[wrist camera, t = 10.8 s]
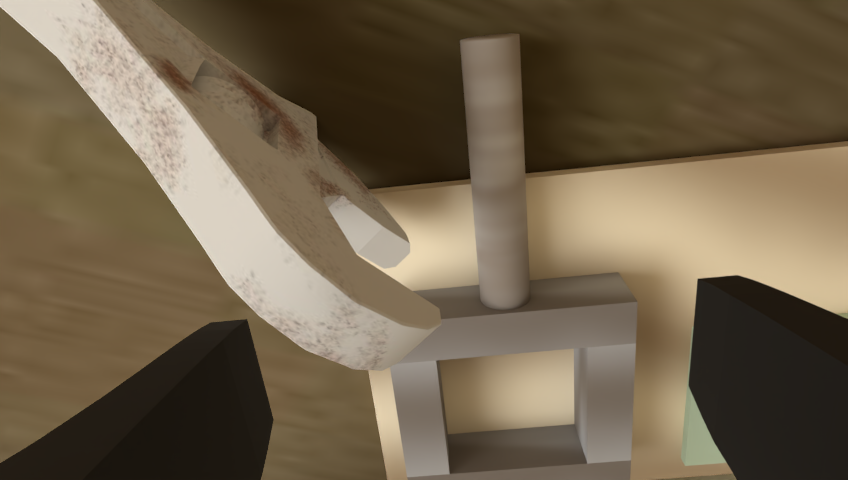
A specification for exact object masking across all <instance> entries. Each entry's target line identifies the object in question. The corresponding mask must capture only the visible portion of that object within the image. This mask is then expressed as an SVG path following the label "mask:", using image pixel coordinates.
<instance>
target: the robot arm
mask: <svg viewBox="0 0 848 480" xmlns="http://www.w3.org/2000/svg"><path fill="white" fill-rule="evenodd" d="M688 386H689V388H690V391H691V393H692V395H693V397H694V400H695V402H696V404H697V407H698V409H699V411H700V414H701V416H702V418H703V420H704V422H705V424H706V427H707V429H708V431H709V433H710V435H711V437H712V439H713V441H714V443H715V445H716V446H717V448H718V450H719V451H720V453H721V455H722V456H723V458H724V459H725V461H726V463H727V464H728V466H729V467H730V469H731V471H732V472H733V474H734V476H735V477H736V479H737V480H848V319H847V318H845V317H842V316H840V315H838V314H835V313H833V312H830V311H828V310H826V309H823V308H821V307H819V306H816V305H814V304H812V303H809V302H807V301H805V300H802V299H800V298H797V297H795V296H793V295H790V294H788V293H786V292H783V291H781V290H778V289H776V288H773V287H771V286H768V285H766V284H763V283H760V282H758V281H755V280H752V279H749V278H746V277H742V276H739V275H733V276H722V277H711V278H700V279H698V280H697V292H696V303H695V315H694V326H693V338H692V349H691V361H690V372H689V384H688ZM272 424H273V416H272V412H271V409H270V405H269V401H268V397H267V393H266V390H265V386H264V382H263V378H262V374H261V371H260V367H259V363H258V359H257V355H256V352H255V348H254V344H253V340H252V336H251V332H250V329H249V325H248V321H247V319H245V320H234V321H223V322H212V323H209V324H207V325H206V326H204V327H202V328H200V329H199V330H197V331H195V332H194V333H192V334H191V335H189V336H188V337H186V338H185V339H183V340H182V341H181V342H179V343H178V344H176V345H175V346H173V347H172V348H171V349H169V350H168V351H166V352H165V353H164V354H162V355H161V356H159V357H158V358H157V359H155V360H154V361H153V362H151V363H150V364H148V365H147V366H146V367H144V368H143V369H141V370H140V371H139V372H137V373H136V374H134V375H133V376H132V377H130V378H129V379H127V380H126V381H125V382H123V383H122V384H120V385H119V386H118V387H116V388H115V389H113V390H112V391H111V392H109V393H108V394H106V395H105V396H103V397H102V398H100V399H99V400H97V401H96V402H94V403H93V404H91V405H90V406H88V407H87V408H85V409H84V410H82V411H81V412H79V413H78V414H76V415H75V416H73V417H72V418H71V419H69V420H68V421H66V422H65V423H63V424H62V425H60V426H59V427H57V428H56V429H54V430H53V431H51V432H50V433H48V434H47V435H45V436H44V437H42V438H41V439H39V440H37V441H36V442H34V443H33V444H31V445H29V446H28V447H26V448H25V449H23V450H21V451H20V452H18V453H16V454H15V455H13V456H11V457H10V458H8V459H6V460H5V461H3V462H2V463H0V480H261V477H262V473H263V468H264V464H265V459H266V455H267V450H268V445H269V440H270V434H271V429H272Z"/></svg>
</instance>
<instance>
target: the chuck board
mask: <svg viewBox="0 0 848 480" xmlns="http://www.w3.org/2000/svg"><path fill="white" fill-rule="evenodd" d="M460 49H461V62H462V75H463V87H464V100H465V112H466V125H467V137H468V150H469V163H470V175H471V179H467V180H457V181H447V182H437V183H427V184H417V185H407V186H397V187H387V188H377V189H369V191H370V192H371V193H372V194H373V195H374V196H375V197H376V198H377V199H378V201H379V202H380V203H381V204H382V205H383V206H384V207H385V208H386V210H387V211H388V212H389V213H390V215H391V216H392V217H393V218H394V219H395V221H396V222H397V223H398V224H399V225H400V227H401V228H402V229H403V230H404V232H405V233H406V235H407V237H408V240H409V242H410V253H409V254H408V255H407V256H406V257H405V258H404V259H403V260H402V261H401V262H400V263H399V264H398V265H397V266H396V267H391V268H386V269H383V268H382V267H380V266H378V265H376V264H375V263H373V262H371V261H369V260H368V259H366V258H364V257H362V256H361V255H359V254H357V253H356V252H355V253H356V254H357V255H358V256H359V257H361V258H362V259H364V260H365V261H367V262H369V263H370V264H372V265H373V266H375V267H376V268H378V269H379V270H381V271H382V272H384V273H385V274H387V275H389V276H390V277H392V278H393V279H395V280H396V281H398V282H399V283H401V284H402V285H404V286H405V287H407V288H409V289H410V290H412V291H413V292H415V293H416V294H418V295H419V296H421V297H422V298H424V299H426V300H427V301H429V302H430V303H432V304H433V305H435V306H436V307H438V308H439V309H440V316H441V325H440V326H439V327H438V328H437V329H435V330H434V331H433V332H432V333H431V334H430V335H429V336H428V337H426V338H425V339H424V340H423V341H422V342H421V343H420V344H419V345H417V346H416V347H415V348H414V349H413V350H412V351H411V352H410V353H408V354H407V355H406V356H405V357H404V358H403V359H402V360H401V361H399V362H398V363H397V364H395V365H393V366H391V367H389V368H387V369H385V370H383V371H377V370H368V371H369V377H370V383H371V388H372V394H373V400H374V405H375V411H376V417H377V422H378V428H379V434H380V440H381V445H382V451H383V457H384V462H385V468H386V474H387V480H654V479H667V478H681V477H694V476H708V475H721V474H733V472H732V471H731V469H730V467H729V466H728V464H727V463H718V464H704V465H691V466H685V465H684V463H683V461H682V459H681V451H682V440H683V428H684V416H685V404H686V392H687V381H688V369H689V357H690V345H691V334H692V326H694V315H695V303H696V292H697V280H698V279H700V278H711V277H722V276H733V275H739V276H742V277H746V278H749V279H752V280H755V281H758V282H760V283H763V284H766V285H768V286H771V287H773V288H776V289H778V290H781V291H783V292H786V293H788V294H790V295H793V296H795V297H797V298H800V299H802V300H805V301H807V302H809V303H812V304H814V305H816V306H819V307H821V308H823V309H826V310H828V311H830V312H833V313H835V314H842V313H848V141H844V142H834V143H824V144H814V145H804V146H794V147H784V148H774V149H765V150H755V151H745V152H735V153H725V154H715V155H705V156H695V157H685V158H675V159H665V160H655V161H645V162H635V163H625V164H616V165H606V166H596V167H586V168H576V169H566V170H556V171H546V172H536V173H526V174H525V154H524V129H523V105H522V81H521V56H520V34H516V33H506V34H492V35H483V36H476V37H470V38H465V39H462V40H460Z"/></svg>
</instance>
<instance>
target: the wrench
mask: <svg viewBox="0 0 848 480" xmlns="http://www.w3.org/2000/svg"><path fill="white" fill-rule="evenodd" d="M0 7H1V8H2V9H3V10H5V11H6V12H7V13H8V14H9V15H10V16H11V17H13V18H14V19H15V20H16V21H17V22H18V23H19V24H20V25H22V26H23V27H24V28H25V29H26V30H27V31H28V32H30V33H31V34H32V35H33V36H34V37H35V38H36V39H37V40H39V41H40V42H41V43H42V44H43V45H44V46H45V47H47V48H48V49H49V50H50V51H51V52H52V53H53V54H54V55H56V56H57V57H58V58H59V60H60V61H61V62H62V63H63V65H64V66H65V67H66V68H67V69H68V71H69V72H70V73H71V74H72V75H73V77H74V78H75V79H76V80H77V82H78V83H79V84H80V85H81V86H82V88H83V89H84V90H85V91H86V92H87V94H88V95H89V96H90V97H91V99H92V100H93V101H94V102H95V103H96V105H97V106H98V107H99V108H100V110H101V111H102V112H103V113H104V114H105V116H106V117H107V118H108V119H109V120H110V122H111V123H112V124H113V125H114V127H115V128H116V129H117V130H118V131H119V133H120V134H121V135H122V136H123V137H124V139H125V140H126V141H127V142H128V144H129V145H130V146H131V147H132V148H133V150H134V151H135V152H136V153H137V155H138V156H139V157H140V158H141V159H142V161H143V162H144V163H145V165H146V166H147V167H148V169H149V170H150V172H151V173H152V175H153V176H154V177H155V179H156V180H157V182H158V183H159V185H160V186H161V188H162V189H163V190H164V192H165V193H166V195H167V196H168V198H169V199H170V200H171V202H172V203H173V205H174V206H175V208H176V209H177V210H178V212H179V213H180V215H181V216H182V218H183V219H184V220H185V222H186V223H187V225H188V226H189V228H190V229H191V230H192V232H193V233H194V235H195V236H196V238H197V239H198V240H199V242H200V243H201V245H202V246H203V248H204V249H205V251H206V252H207V254H208V255H209V257H210V259H211V260H212V262H213V263H214V265H215V266H216V268H217V269H218V271H219V272H220V274H221V275H222V277H223V278H224V279H225V281H226V282H227V283H228V285H229V286H230V287H231V288H232V289H233V290H234V291H235V292H236V293H237V294H238V295H239V296H240V297H241V298H242V299H243V300H244V301H245V302H246V303H247V304H248V305H249V306H250V307H251V308H252V309H253V310H254V311H255V312H256V313H257V314H258V315H259V316H260V317H261V318H263V319H264V320H265V321H267V322H268V323H269V324H271V325H272V326H273V327H275V328H276V329H278V330H279V331H280V332H282V333H283V334H284V335H286V336H287V337H288V338H290V339H291V340H292V341H294V342H295V343H296V344H298V345H299V346H300V347H302V348H303V349H304V350H307V351H309V352H312V353H314V354H317V355H319V356H322V357H324V358H327V359H330V360H332V361H335V362H337V363H340V364H342V365H345V366H347V367H350V368H352V369H359V370H377V371H383V370H385V369H387V368H389V367H391V366H393V365H395V364H397V363H398V362H399V361H401V360H402V359H403V358H404V357H405V356H406V355H407V354H408V353H410V352H411V351H412V350H413V349H414V348H415V347H416V346H417V345H419V344H420V343H421V342H422V341H423V340H424V339H425V338H426V337H428V336H429V335H430V334H431V333H432V332H433V331H434V330H435V329H437V328H438V327H439V326H440V325H441V316H440V309H439V308H438V307H436V306H435V305H433V304H432V303H430V302H429V301H427V300H426V299H424V298H422V297H421V296H419V295H418V294H416V293H415V292H413V291H412V290H410V289H409V288H407V287H405V286H404V285H402V284H401V283H399V282H398V281H396V280H395V279H393V278H392V277H390V276H389V275H387V274H385V273H384V272H382V271H381V270H379V269H378V268H376V267H375V266H373V265H372V264H370V263H369V262H367V261H365V260H364V259H362V258H361V257H359V256H358V255H357V254H359V255H361V256H362V257H364V258H366V259H368V260H369V261H371V262H373V263H375V264H376V265H378V266H380V267H382V268H383V269H386V268H391V267H396V266H397V265H398V264H399V263H400V262H401V261H402V260H403V259H404V258H405V257H406V256H407V255H408V254H409V253H410V242H409V240H408V237H407V235H406V233H405V232H404V230H403V229H402V228H401V227H400V225H399V224H398V223H397V222H396V221H395V219H394V218H393V217H392V216H391V215H390V213H389V212H388V211H387V210H386V208H385V207H384V206H383V205H382V204H381V203H380V202H379V201H378V199H377V198H376V197H375V196H374V195H373V194H372V193H371V192H370V191H369V189H368V188H367V187H366V186H365V185H364V184H363V183H362V182H361V181H360V179H359V178H358V177H357V176H356V175H355V174H354V173H353V172H352V171H351V170H350V169H349V168H348V167H346V166H345V165H344V164H343V163H342V162H341V161H340V160H339V159H338V158H337V157H336V156H335V155H334V154H333V153H332V152H331V151H330V150H329V149H328V148H326V147H325V146H324V145H323V144H322V143H321V142H320V141H319V140H318V139H317V121H316V116H315V115H314V114H313V113H311V112H309V111H308V110H306V109H304V108H302V107H300V106H298V105H296V104H294V103H292V102H290V101H288V100H286V99H284V98H282V97H280V96H278V95H277V94H275V93H274V92H273V91H271V90H270V89H268V88H267V87H265V86H264V85H263V84H261V83H260V82H258V81H257V80H256V79H254V78H253V77H251V76H250V75H248V74H247V73H246V72H244V71H243V70H241V69H240V68H239V67H237V66H236V65H234V64H233V63H231V62H230V61H229V60H227V59H226V58H224V57H223V56H222V55H220V54H219V53H217V52H216V51H214V50H213V49H212V48H210V47H209V46H208V45H207V44H205V43H204V42H203V41H202V40H200V39H199V38H198V37H197V36H195V35H194V34H193V33H191V32H190V31H189V30H188V29H186V28H185V27H184V26H183V25H181V24H180V23H179V22H178V21H176V20H175V19H174V18H173V17H171V16H170V15H169V14H167V13H166V12H165V11H164V10H162V9H161V8H160V7H159V6H157V5H156V4H155V3H154V2H153V1H152V0H0ZM355 252H356V253H357V254H356V253H355Z"/></svg>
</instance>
